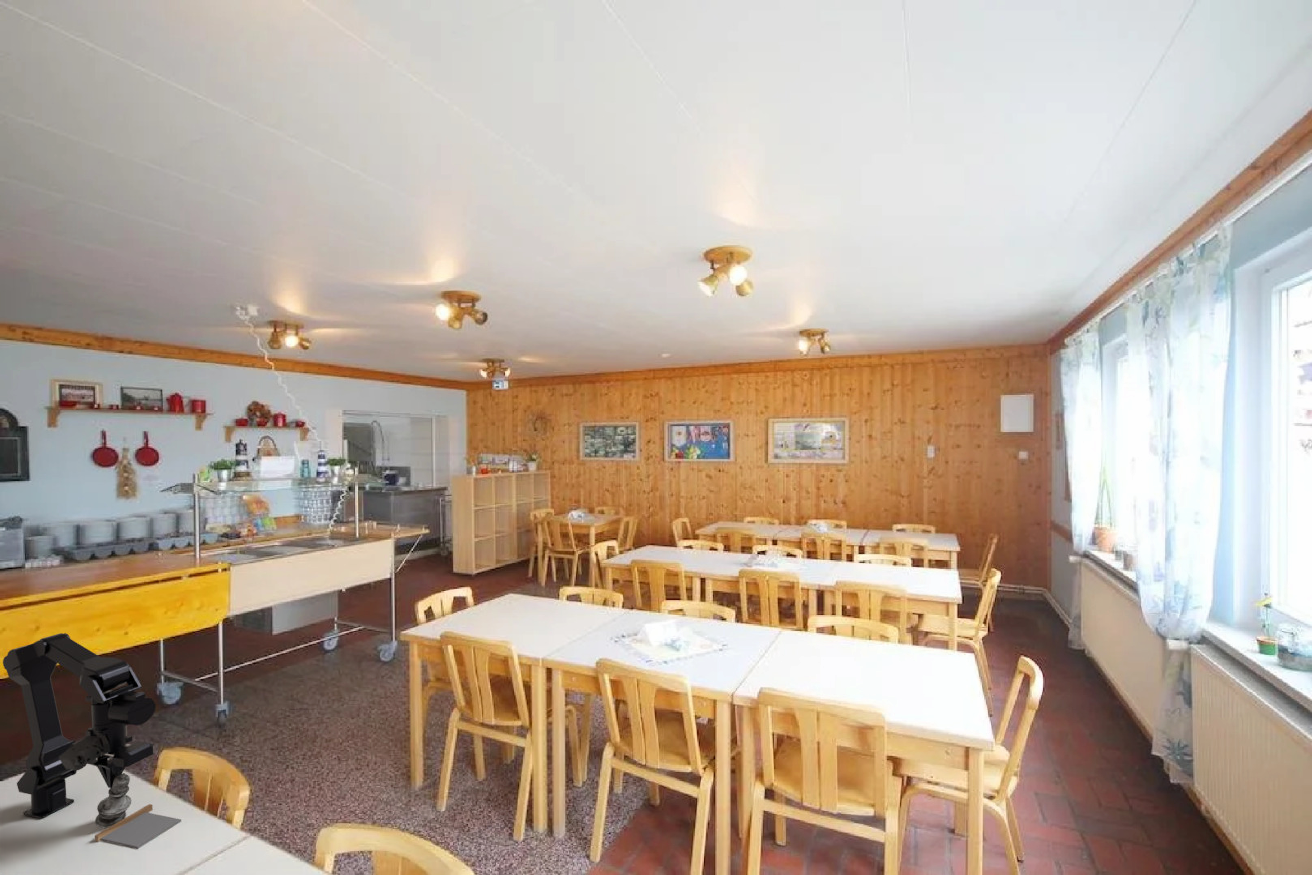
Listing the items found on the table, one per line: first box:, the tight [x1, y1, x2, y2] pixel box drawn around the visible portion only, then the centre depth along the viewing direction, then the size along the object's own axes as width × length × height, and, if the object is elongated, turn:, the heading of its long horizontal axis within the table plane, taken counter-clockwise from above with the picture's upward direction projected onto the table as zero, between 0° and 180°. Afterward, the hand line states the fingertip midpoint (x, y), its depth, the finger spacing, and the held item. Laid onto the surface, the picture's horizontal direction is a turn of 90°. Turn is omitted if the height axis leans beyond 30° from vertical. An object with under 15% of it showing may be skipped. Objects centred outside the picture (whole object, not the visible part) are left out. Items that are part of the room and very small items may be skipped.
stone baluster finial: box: [95, 772, 132, 828], centre depth 134 cm, size 6×6×12 cm
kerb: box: [94, 803, 154, 843], centre depth 134 cm, size 1×11×1 cm, turn 165°
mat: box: [100, 812, 182, 849], centre depth 132 cm, size 11×9×1 cm
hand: (112, 786), depth 135 cm, fingers closed
